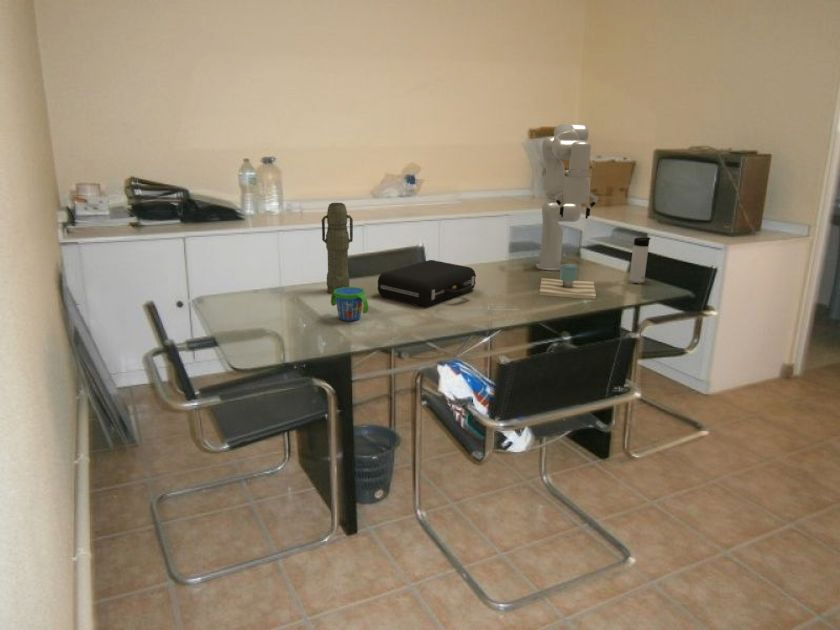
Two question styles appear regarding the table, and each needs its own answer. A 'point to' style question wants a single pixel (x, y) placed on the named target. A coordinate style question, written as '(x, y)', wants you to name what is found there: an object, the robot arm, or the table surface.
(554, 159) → the robot arm
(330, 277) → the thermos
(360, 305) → the snack cup
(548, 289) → the post board
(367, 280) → the table surface
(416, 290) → the briefcase
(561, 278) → the teal cube
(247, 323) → the table surface
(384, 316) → the table surface
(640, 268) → the travel mug
